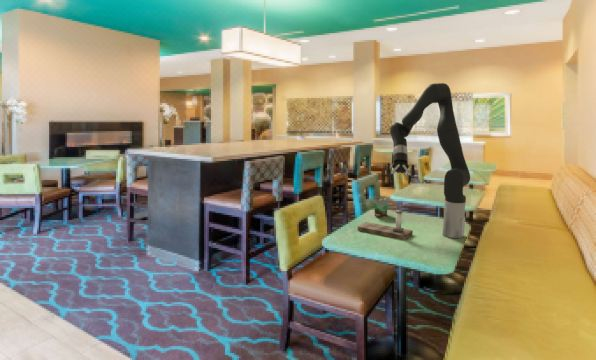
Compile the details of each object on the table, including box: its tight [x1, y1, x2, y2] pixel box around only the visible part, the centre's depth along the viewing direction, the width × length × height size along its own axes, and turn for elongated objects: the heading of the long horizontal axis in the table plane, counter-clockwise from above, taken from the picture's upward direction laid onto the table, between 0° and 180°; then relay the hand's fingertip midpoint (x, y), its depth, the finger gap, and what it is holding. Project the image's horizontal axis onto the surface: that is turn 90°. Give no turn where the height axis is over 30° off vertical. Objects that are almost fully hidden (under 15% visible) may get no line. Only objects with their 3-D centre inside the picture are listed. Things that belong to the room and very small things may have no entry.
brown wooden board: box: [357, 221, 414, 241], centre depth 190 cm, size 25×10×2 cm, turn 55°
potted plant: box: [373, 196, 390, 218], centre depth 220 cm, size 12×6×10 cm, turn 143°
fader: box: [393, 209, 405, 232], centre depth 184 cm, size 4×4×10 cm
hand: (400, 182), depth 194 cm, fingers open, 8 cm apart
